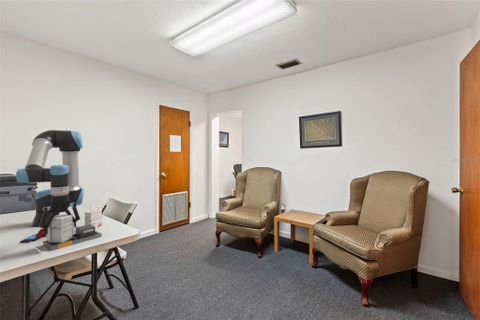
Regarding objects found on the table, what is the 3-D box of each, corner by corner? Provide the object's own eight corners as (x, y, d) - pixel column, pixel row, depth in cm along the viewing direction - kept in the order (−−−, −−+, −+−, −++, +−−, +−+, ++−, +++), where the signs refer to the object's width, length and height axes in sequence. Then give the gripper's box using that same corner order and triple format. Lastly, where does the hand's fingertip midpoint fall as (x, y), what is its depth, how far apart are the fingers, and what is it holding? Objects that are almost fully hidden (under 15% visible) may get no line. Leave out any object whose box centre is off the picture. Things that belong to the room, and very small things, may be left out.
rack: (42, 246, 116) (42, 241, 116) (92, 233, 135) (92, 229, 135) (51, 252, 109) (51, 246, 109) (101, 237, 128) (101, 233, 128)
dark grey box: (75, 238, 126) (75, 227, 126) (89, 234, 132) (89, 224, 132) (81, 240, 122) (81, 229, 122) (95, 236, 128) (95, 226, 128)
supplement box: (47, 242, 114) (47, 218, 114) (60, 237, 122) (59, 214, 121) (61, 243, 114) (61, 218, 114) (73, 237, 121) (72, 214, 121)
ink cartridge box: (95, 226, 149) (95, 204, 148) (102, 226, 148) (101, 204, 148) (84, 230, 140) (84, 207, 140) (91, 231, 139) (90, 207, 139)
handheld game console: (36, 235, 133) (36, 222, 133) (56, 234, 134) (56, 222, 134) (18, 243, 120) (18, 229, 120) (40, 242, 122) (40, 229, 122)
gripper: (34, 198, 106) (34, 245, 106) (87, 192, 124) (87, 232, 125) (29, 197, 110) (30, 242, 111) (81, 191, 128) (82, 229, 129)
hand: (60, 236), depth 118 cm, fingers closed on supplement box, 10 cm apart
